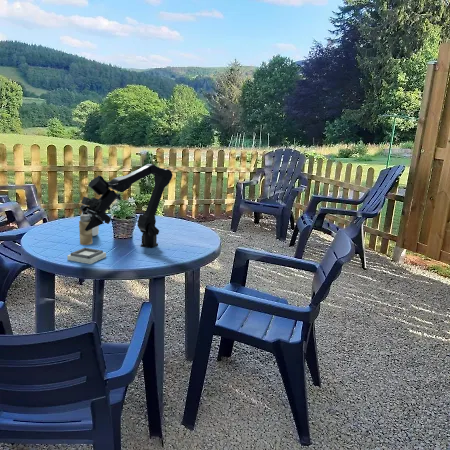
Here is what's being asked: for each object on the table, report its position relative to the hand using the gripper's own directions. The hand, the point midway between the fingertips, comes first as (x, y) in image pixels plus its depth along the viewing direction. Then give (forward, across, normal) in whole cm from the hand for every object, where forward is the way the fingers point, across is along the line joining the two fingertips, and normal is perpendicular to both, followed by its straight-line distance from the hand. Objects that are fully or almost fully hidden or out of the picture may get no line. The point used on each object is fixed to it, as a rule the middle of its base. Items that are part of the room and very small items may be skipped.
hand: (82, 229), depth 183 cm
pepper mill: (+4, 0, +6) cm, 7 cm away
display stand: (+9, 0, +10) cm, 13 cm away
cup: (-4, -32, +23) cm, 39 cm away
